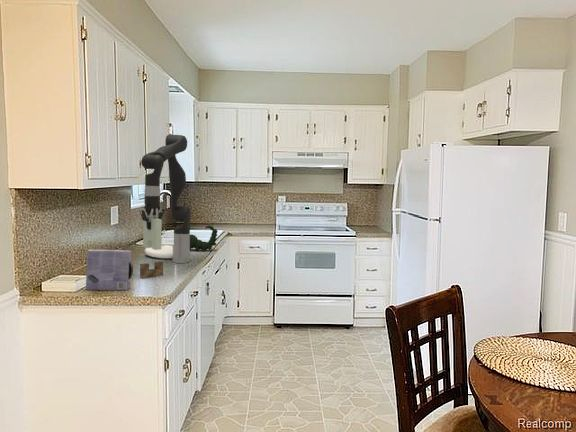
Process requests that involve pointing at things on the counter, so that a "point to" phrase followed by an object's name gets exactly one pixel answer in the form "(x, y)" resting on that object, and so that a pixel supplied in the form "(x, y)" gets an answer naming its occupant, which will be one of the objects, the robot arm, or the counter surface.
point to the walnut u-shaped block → (151, 270)
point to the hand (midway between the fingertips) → (152, 229)
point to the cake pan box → (108, 270)
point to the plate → (161, 252)
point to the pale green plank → (152, 234)
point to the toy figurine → (204, 245)
